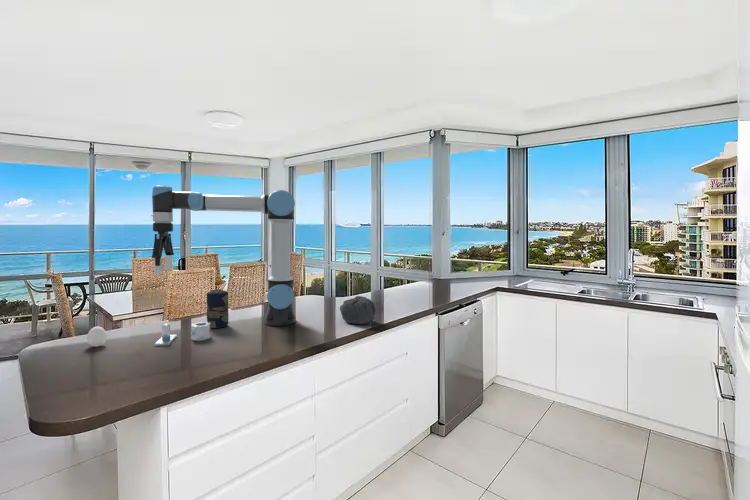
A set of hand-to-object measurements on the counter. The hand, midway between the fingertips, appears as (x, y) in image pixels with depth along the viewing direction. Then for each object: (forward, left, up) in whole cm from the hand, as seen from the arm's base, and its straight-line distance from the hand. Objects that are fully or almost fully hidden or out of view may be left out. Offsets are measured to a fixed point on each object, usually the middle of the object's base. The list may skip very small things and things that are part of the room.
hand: (163, 271), depth 162 cm
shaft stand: (-3, +10, -28) cm, 30 cm away
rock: (-88, -6, -28) cm, 93 cm away
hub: (-16, +8, -28) cm, 33 cm away
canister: (-20, -10, -28) cm, 36 cm away
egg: (+21, +12, -28) cm, 37 cm away
